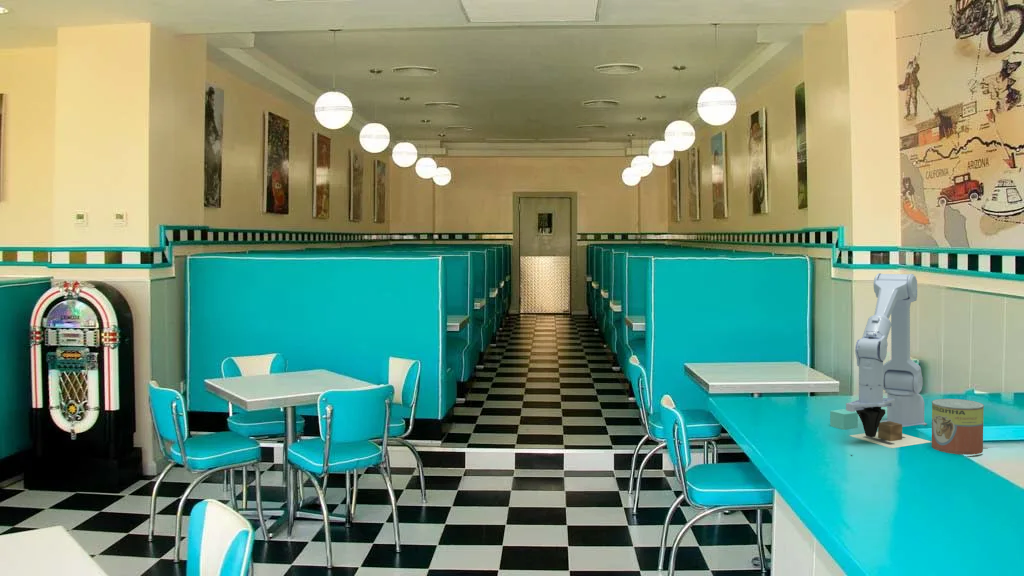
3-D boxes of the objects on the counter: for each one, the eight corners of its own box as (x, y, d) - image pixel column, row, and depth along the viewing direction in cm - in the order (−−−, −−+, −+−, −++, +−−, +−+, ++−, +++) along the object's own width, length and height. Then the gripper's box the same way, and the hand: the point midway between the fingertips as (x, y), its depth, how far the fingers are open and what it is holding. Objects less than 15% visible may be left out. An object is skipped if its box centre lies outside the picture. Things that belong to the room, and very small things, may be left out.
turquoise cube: (844, 426, 222) (844, 409, 221) (857, 430, 217) (857, 412, 217) (830, 428, 220) (830, 410, 220) (843, 432, 215) (843, 414, 215)
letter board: (888, 432, 214) (888, 429, 214) (932, 444, 201) (932, 441, 201) (848, 437, 209) (848, 435, 209) (891, 450, 196) (891, 448, 196)
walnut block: (889, 436, 207) (889, 421, 207) (902, 439, 204) (902, 424, 203) (878, 437, 206) (878, 422, 206) (890, 441, 202) (890, 425, 202)
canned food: (920, 448, 197) (921, 401, 196) (951, 443, 202) (952, 397, 201) (962, 459, 187) (962, 410, 186) (993, 453, 191) (994, 405, 191)
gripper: (861, 389, 195) (860, 442, 196) (904, 384, 200) (904, 436, 201) (839, 384, 202) (839, 436, 203) (882, 380, 207) (882, 430, 208)
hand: (870, 436), depth 202 cm, fingers closed
